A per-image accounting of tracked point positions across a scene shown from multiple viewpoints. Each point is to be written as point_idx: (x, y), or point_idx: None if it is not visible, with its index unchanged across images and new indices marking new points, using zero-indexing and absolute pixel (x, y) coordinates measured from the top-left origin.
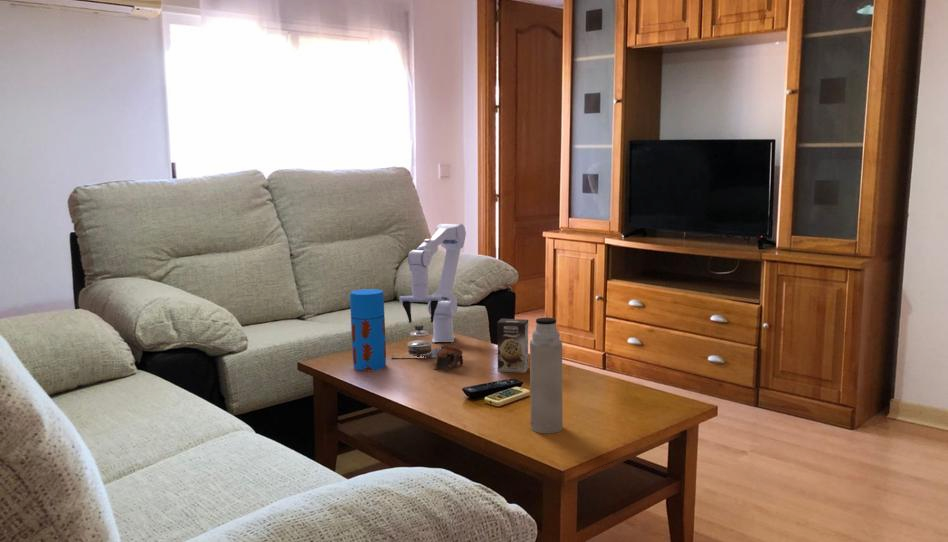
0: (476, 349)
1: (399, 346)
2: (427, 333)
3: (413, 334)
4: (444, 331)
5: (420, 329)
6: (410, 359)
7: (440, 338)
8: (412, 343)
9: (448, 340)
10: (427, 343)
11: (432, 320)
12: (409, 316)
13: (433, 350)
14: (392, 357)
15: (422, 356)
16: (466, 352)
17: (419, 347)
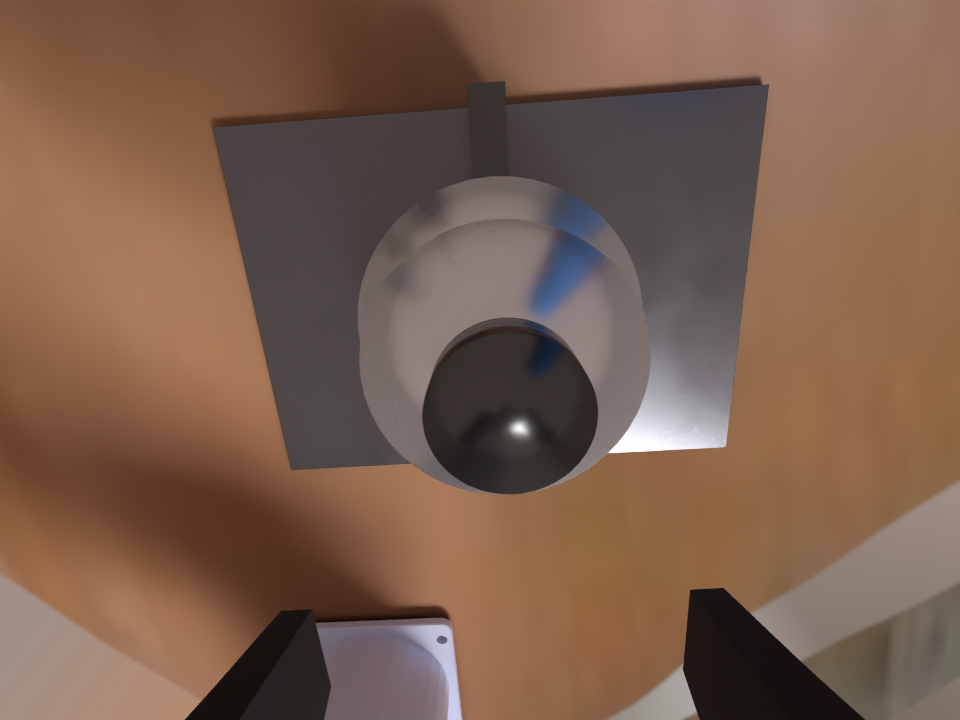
0: (41, 449)
1: (698, 534)
2: (363, 331)
3: (584, 258)
4: (326, 717)
5: (469, 332)
6: (560, 71)
7: (379, 655)
8: None
9: (325, 648)
10: None
11: (260, 636)
12: (802, 702)
13: None
14: (760, 112)
15: (447, 162)
16: (86, 354)
17: (477, 178)
